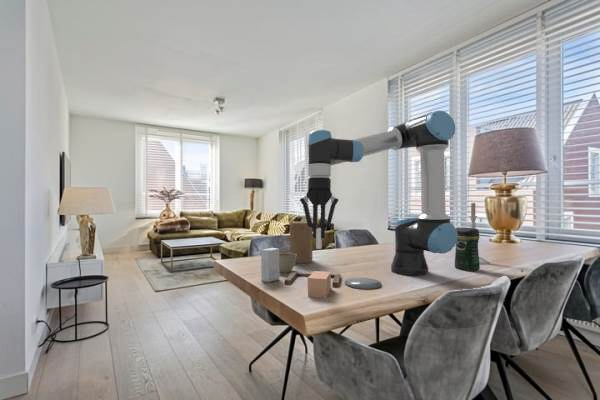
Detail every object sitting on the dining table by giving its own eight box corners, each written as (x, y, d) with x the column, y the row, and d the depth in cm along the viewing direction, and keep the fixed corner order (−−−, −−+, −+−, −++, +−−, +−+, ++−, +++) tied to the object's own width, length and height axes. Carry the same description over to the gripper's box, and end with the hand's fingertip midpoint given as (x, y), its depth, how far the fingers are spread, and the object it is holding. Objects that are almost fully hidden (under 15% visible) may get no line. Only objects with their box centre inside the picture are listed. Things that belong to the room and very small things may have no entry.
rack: (340, 277, 121) (340, 273, 121) (338, 287, 107) (338, 282, 107) (292, 275, 125) (292, 271, 125) (284, 284, 111) (284, 280, 111)
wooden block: (309, 264, 146) (309, 222, 147) (289, 263, 148) (289, 222, 149) (312, 260, 156) (312, 221, 156) (293, 259, 158) (293, 221, 158)
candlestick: (494, 264, 146) (493, 202, 146) (467, 264, 146) (467, 202, 146) (478, 259, 159) (478, 202, 159) (454, 259, 159) (454, 202, 159)
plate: (379, 280, 116) (379, 278, 116) (382, 290, 104) (382, 287, 104) (345, 278, 119) (345, 276, 119) (343, 288, 106) (343, 285, 106)
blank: (330, 289, 106) (330, 271, 106) (326, 298, 96) (326, 279, 96) (313, 288, 107) (313, 271, 107) (307, 296, 97) (307, 277, 97)
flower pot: (269, 272, 130) (269, 255, 130) (280, 267, 139) (280, 252, 139) (291, 274, 126) (291, 257, 126) (300, 269, 135) (300, 253, 135)
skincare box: (271, 277, 121) (271, 247, 121) (280, 279, 118) (280, 248, 118) (260, 280, 116) (260, 249, 116) (268, 282, 113) (268, 250, 113)
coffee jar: (483, 270, 133) (483, 228, 133) (470, 272, 129) (470, 228, 130) (463, 266, 142) (463, 226, 142) (451, 267, 138) (451, 227, 138)
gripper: (339, 178, 104) (339, 247, 103) (302, 178, 106) (301, 245, 106) (338, 176, 96) (337, 250, 96) (298, 176, 99) (297, 249, 99)
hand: (318, 248), depth 101 cm, fingers closed
